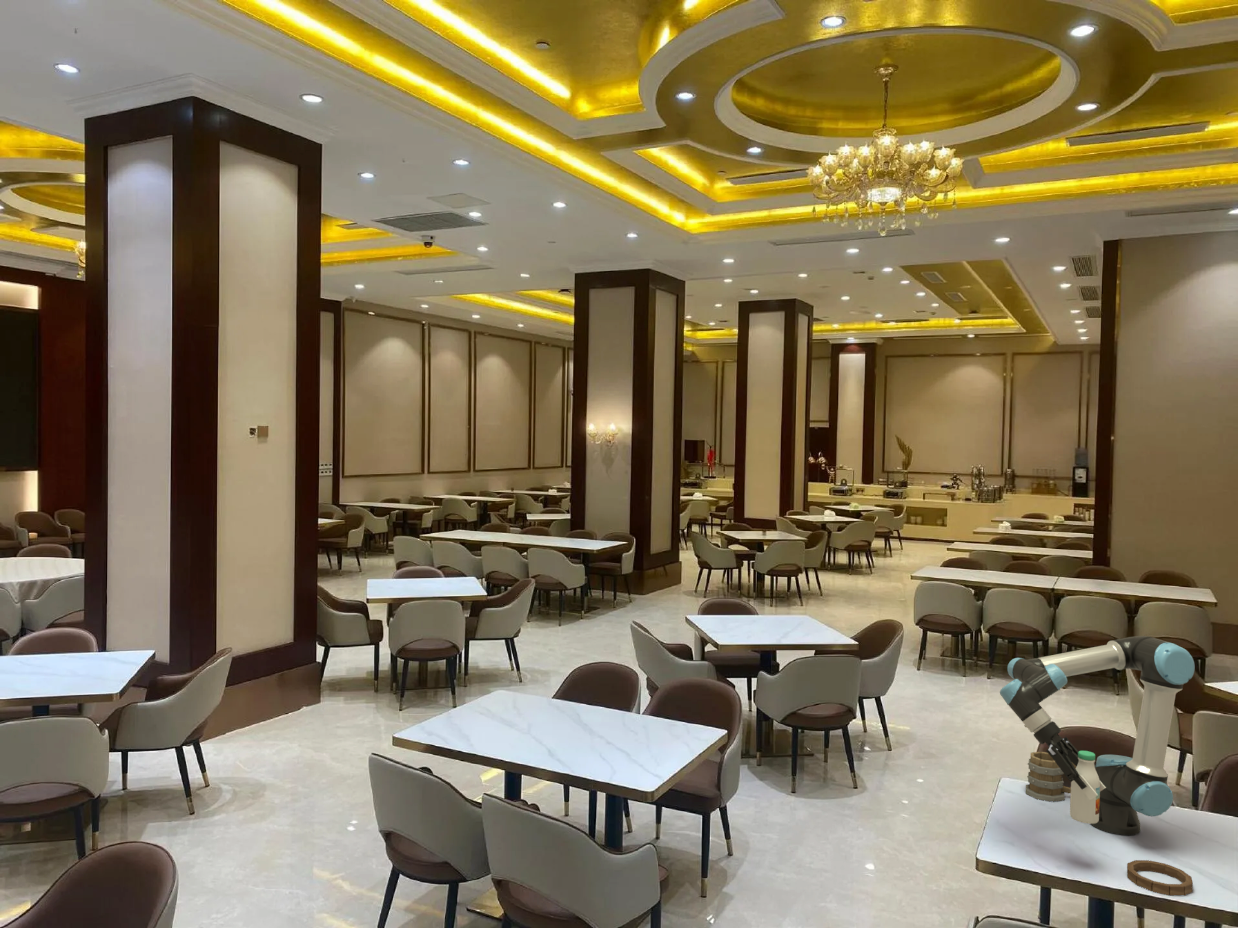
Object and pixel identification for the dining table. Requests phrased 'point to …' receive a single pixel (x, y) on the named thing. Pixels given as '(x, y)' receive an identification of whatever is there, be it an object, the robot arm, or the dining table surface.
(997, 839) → the dining table surface
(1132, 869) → the walnut ring
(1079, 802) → the milk bottle
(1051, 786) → the tankard
